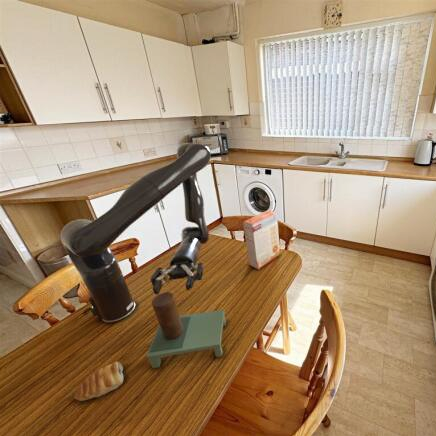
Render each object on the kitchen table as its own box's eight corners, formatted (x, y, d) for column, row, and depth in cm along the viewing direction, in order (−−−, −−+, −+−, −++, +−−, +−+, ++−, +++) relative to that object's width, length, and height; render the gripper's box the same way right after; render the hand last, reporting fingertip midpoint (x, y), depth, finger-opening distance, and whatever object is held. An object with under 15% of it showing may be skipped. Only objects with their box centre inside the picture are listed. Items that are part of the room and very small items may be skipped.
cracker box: (270, 250, 111) (267, 209, 102) (280, 255, 107) (277, 212, 99) (248, 265, 101) (242, 220, 92) (257, 270, 98) (252, 224, 89)
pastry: (77, 412, 53) (69, 402, 52) (77, 387, 58) (71, 377, 56) (126, 383, 58) (120, 374, 57) (122, 363, 63) (117, 354, 62)
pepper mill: (161, 341, 63) (148, 307, 58) (167, 326, 67) (155, 293, 62) (181, 338, 64) (170, 304, 58) (185, 323, 68) (175, 290, 63)
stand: (151, 369, 61) (145, 355, 59) (166, 330, 72) (161, 318, 70) (222, 356, 64) (219, 343, 62) (226, 321, 75) (224, 309, 72)
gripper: (160, 251, 79) (140, 282, 65) (205, 246, 81) (195, 276, 67) (166, 269, 82) (148, 303, 68) (208, 264, 84) (200, 296, 70)
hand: (171, 290), depth 67 cm, fingers open, 8 cm apart
